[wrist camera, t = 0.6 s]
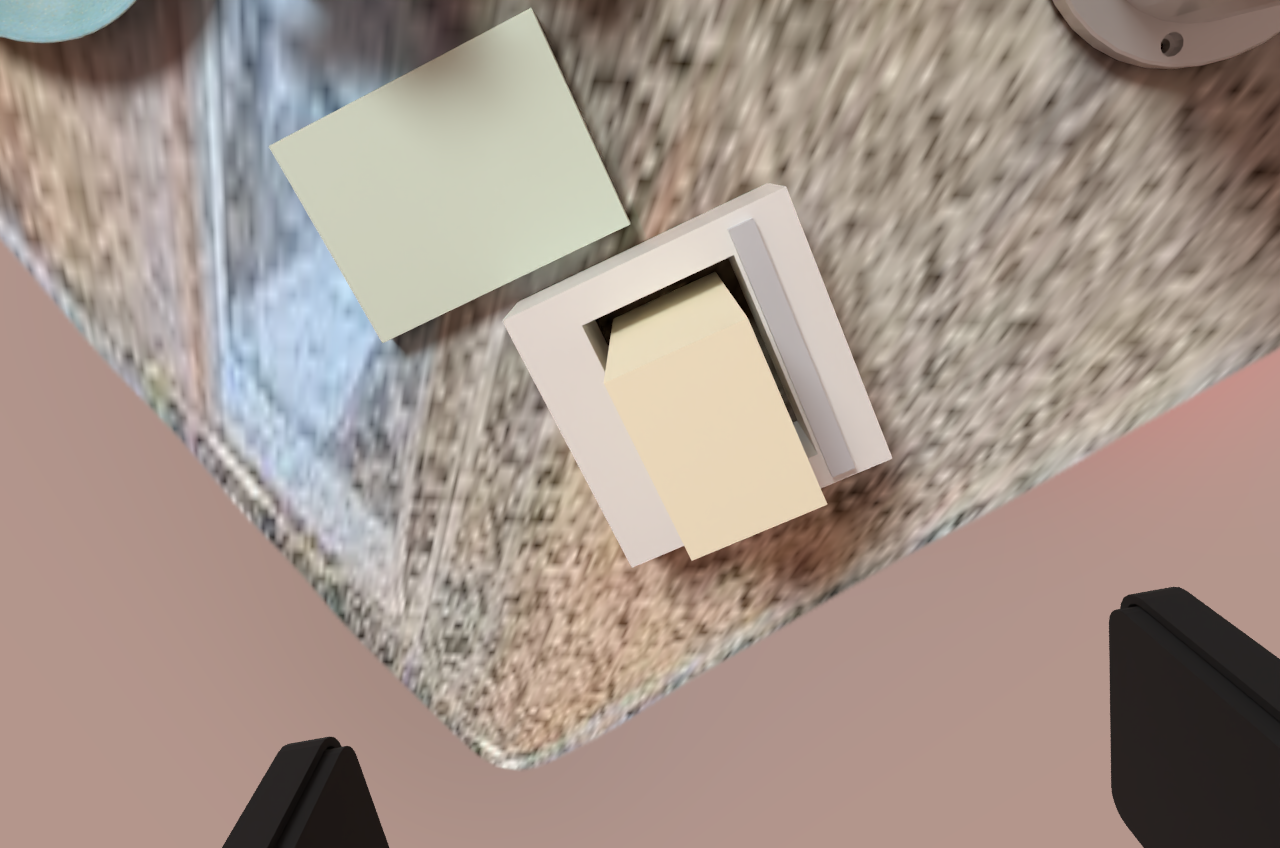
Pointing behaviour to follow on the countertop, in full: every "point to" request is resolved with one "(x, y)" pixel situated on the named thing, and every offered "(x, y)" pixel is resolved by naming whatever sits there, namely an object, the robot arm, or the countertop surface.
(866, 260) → the countertop surface
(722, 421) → the cream rectangular block
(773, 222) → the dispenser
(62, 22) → the saucer
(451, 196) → the pad
